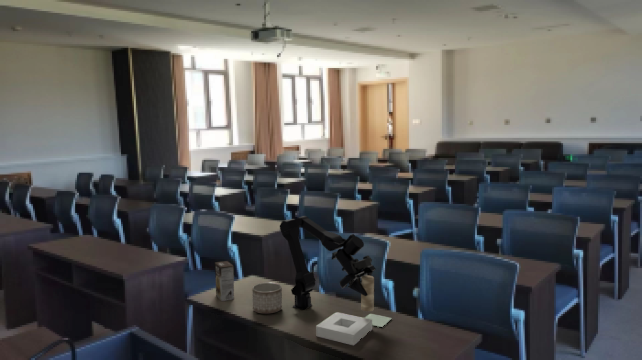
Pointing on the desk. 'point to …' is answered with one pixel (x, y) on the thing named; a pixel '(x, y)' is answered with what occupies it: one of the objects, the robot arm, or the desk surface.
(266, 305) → the planter
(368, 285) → the wooden peg
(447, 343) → the desk surface
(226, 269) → the coffee box
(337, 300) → the desk surface
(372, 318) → the green pad
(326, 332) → the pocket block
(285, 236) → the robot arm
